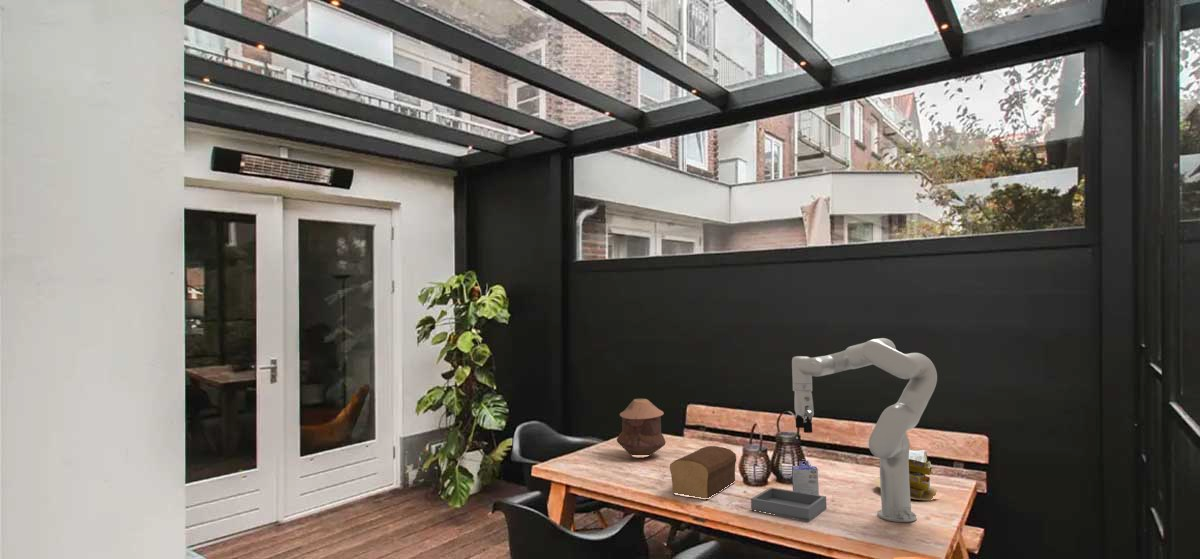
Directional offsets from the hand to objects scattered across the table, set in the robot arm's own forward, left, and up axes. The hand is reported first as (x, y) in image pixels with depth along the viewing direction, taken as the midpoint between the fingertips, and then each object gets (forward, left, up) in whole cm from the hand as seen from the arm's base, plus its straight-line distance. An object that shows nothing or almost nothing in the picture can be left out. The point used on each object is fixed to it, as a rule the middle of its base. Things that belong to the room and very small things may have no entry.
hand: (803, 430), depth 247 cm
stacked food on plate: (+3, -42, -27) cm, 50 cm away
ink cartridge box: (0, 0, -27) cm, 27 cm away
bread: (+17, +38, -27) cm, 50 cm away
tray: (-13, +11, -27) cm, 32 cm away
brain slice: (+45, -9, -27) cm, 53 cm away
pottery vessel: (+80, +59, -27) cm, 103 cm away
